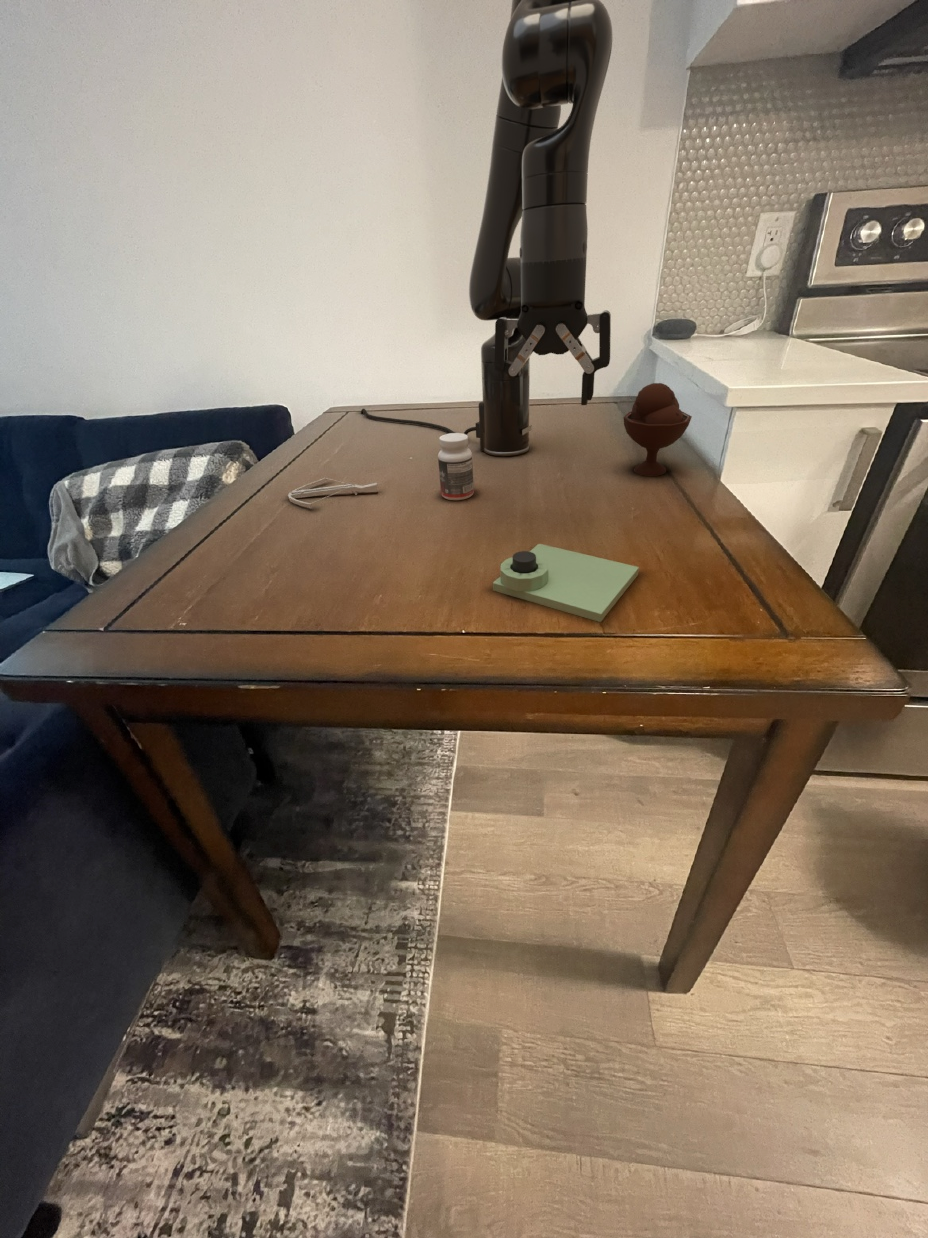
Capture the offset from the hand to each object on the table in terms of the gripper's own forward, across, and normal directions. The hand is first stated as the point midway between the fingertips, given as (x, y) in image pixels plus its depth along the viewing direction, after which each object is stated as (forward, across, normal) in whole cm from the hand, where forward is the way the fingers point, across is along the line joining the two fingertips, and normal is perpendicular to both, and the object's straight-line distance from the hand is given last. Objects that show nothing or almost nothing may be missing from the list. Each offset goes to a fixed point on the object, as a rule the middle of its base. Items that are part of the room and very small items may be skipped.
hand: (551, 404), depth 71 cm
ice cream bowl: (+17, -15, -26) cm, 35 cm away
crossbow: (+17, +39, -8) cm, 44 cm away
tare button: (+15, +1, +17) cm, 23 cm away
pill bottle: (+17, +17, -11) cm, 27 cm away
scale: (+18, -4, +16) cm, 24 cm away
